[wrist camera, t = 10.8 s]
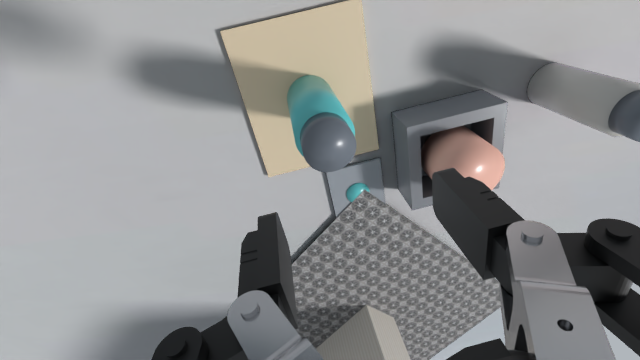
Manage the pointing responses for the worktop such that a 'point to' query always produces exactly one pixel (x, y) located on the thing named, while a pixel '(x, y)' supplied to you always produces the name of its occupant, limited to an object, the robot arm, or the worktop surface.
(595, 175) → the worktop surface
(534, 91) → the marker grey
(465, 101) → the button housing
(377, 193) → the card
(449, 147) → the button
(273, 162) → the sketch pad
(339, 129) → the marker teal
